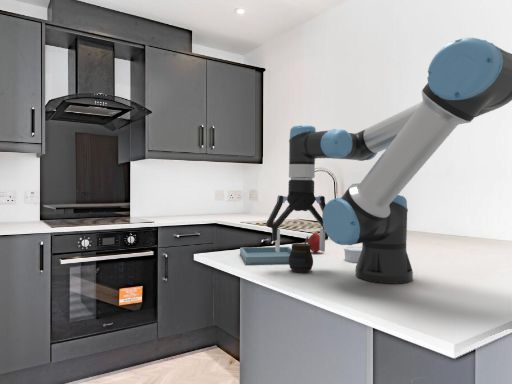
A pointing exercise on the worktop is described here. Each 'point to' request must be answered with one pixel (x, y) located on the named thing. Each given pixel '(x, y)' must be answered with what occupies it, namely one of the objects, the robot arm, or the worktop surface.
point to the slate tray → (265, 255)
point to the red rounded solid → (314, 242)
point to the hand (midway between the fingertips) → (299, 251)
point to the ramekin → (352, 253)
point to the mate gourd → (301, 257)
